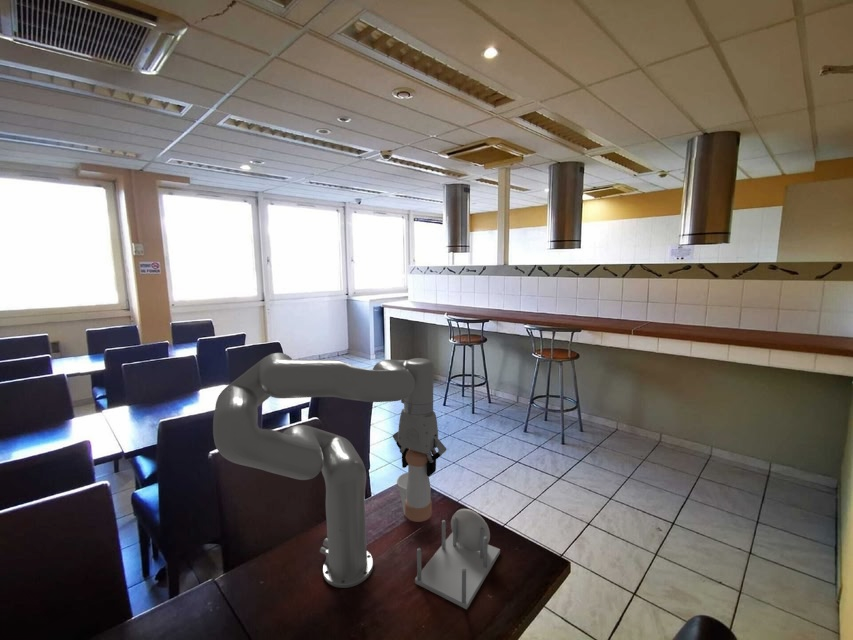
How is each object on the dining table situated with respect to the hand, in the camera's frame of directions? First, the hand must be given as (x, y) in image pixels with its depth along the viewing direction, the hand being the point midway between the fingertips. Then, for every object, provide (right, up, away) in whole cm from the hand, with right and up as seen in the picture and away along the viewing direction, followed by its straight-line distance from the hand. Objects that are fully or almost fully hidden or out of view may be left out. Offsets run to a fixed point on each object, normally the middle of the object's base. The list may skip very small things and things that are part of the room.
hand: (418, 469), depth 106 cm
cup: (-2, -20, +17) cm, 26 cm away
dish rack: (+11, -23, -5) cm, 26 cm away
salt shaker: (0, -13, +2) cm, 13 cm away
